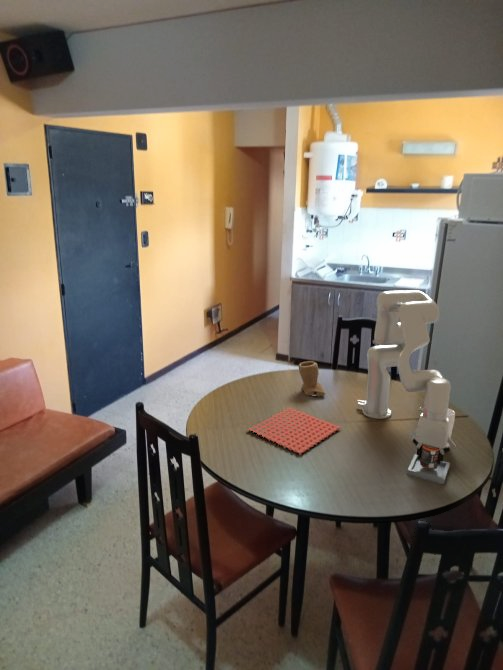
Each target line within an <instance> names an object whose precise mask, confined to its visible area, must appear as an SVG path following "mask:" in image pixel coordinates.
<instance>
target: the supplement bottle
mask: <svg viewBox="0 0 503 670" xmlns="http://www.w3.org/2000/svg"><path fill="white" fill-rule="evenodd" d="M439 453H440V449H439V448H437V447H433V446H429V445H425V444H422V450H421V458H420V465H421V466H422V467H423V468H426V469H429V470H434V469H436V468H437V467H438V457H439Z"/></svg>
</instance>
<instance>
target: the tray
mask: <svg viewBox="0 0 503 670" xmlns="http://www.w3.org/2000/svg"><path fill="white" fill-rule="evenodd" d="M450 465H451V462H449V461H448V462H447V461H444V460H443V462H442V461H441V463H440V464H438V467H437V468H436V469H434V470H429V469H426V468H423V467H422V466H421V465H420V459H418V455H417V453H415V454H414V455H413V457H412V460H411V462H410V464H409V466H408V468H407V474H406V475H407V476H409V477H413V478H417V479H420V480H422V481H423V480H424V481H427V482H430V483H435V484H439V485H442V486H444V485H445V482H446V479H447V477H448V473H449V469H450Z"/></svg>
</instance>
